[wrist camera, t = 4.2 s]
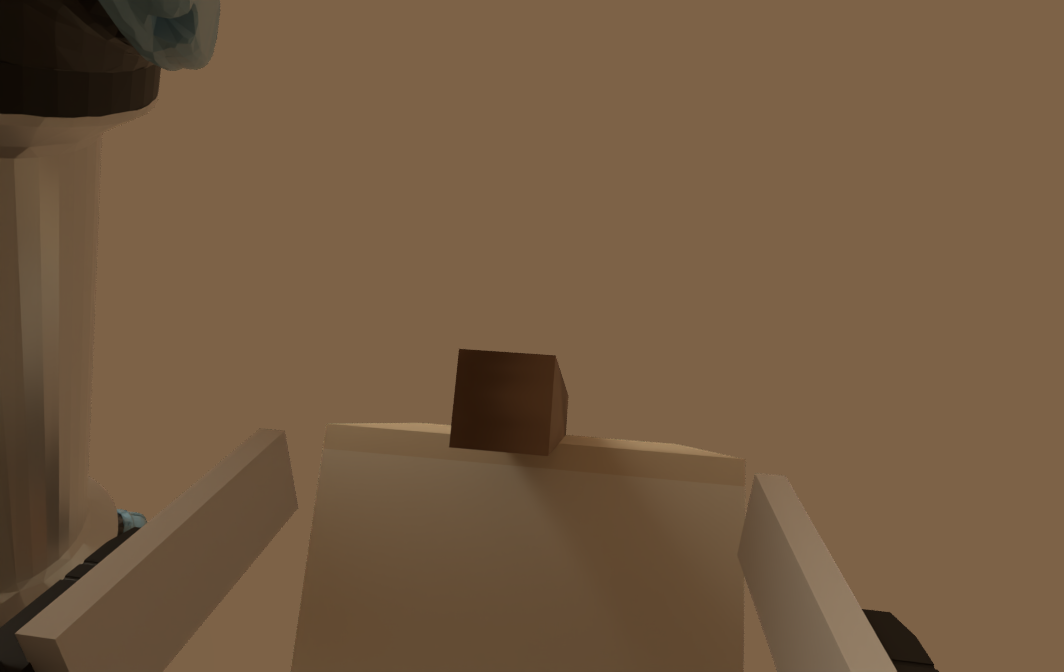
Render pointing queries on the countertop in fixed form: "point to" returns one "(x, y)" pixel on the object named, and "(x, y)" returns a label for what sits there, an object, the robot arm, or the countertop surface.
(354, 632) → the pedestal
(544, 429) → the dark brown wooden post
